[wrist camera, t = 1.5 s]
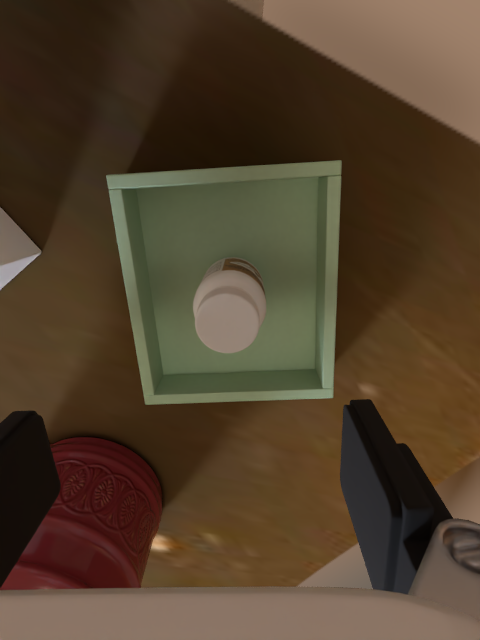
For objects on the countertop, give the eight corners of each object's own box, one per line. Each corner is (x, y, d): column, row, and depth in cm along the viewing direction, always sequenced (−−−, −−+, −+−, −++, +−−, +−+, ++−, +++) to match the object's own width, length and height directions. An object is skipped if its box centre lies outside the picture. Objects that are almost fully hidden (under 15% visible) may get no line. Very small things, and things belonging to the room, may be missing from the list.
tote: (124, 176, 24) (105, 174, 21) (329, 163, 24) (342, 160, 20) (156, 381, 30) (145, 405, 26) (324, 375, 29) (333, 398, 26)
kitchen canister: (194, 490, 34) (141, 788, 17) (109, 560, 37) (-3, 864, 20) (79, 405, 31) (-121, 665, 14) (-1, 489, 34) (-239, 778, 17)
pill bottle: (276, 286, 26) (286, 324, 19) (233, 326, 27) (228, 376, 20) (232, 242, 25) (225, 265, 18) (190, 286, 26) (168, 324, 19)
